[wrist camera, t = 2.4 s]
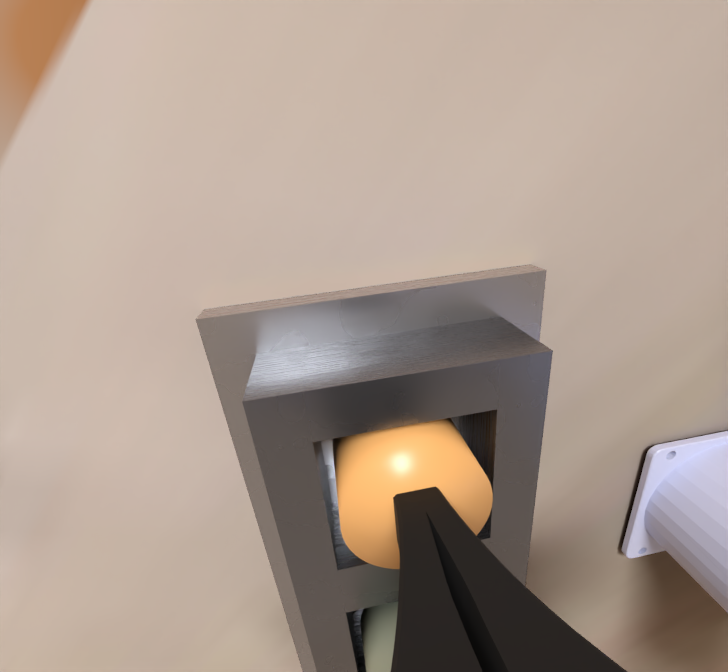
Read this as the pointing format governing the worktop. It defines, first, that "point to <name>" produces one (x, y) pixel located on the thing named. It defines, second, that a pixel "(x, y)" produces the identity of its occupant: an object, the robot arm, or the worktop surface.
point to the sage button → (379, 636)
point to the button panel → (376, 422)
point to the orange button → (403, 483)
